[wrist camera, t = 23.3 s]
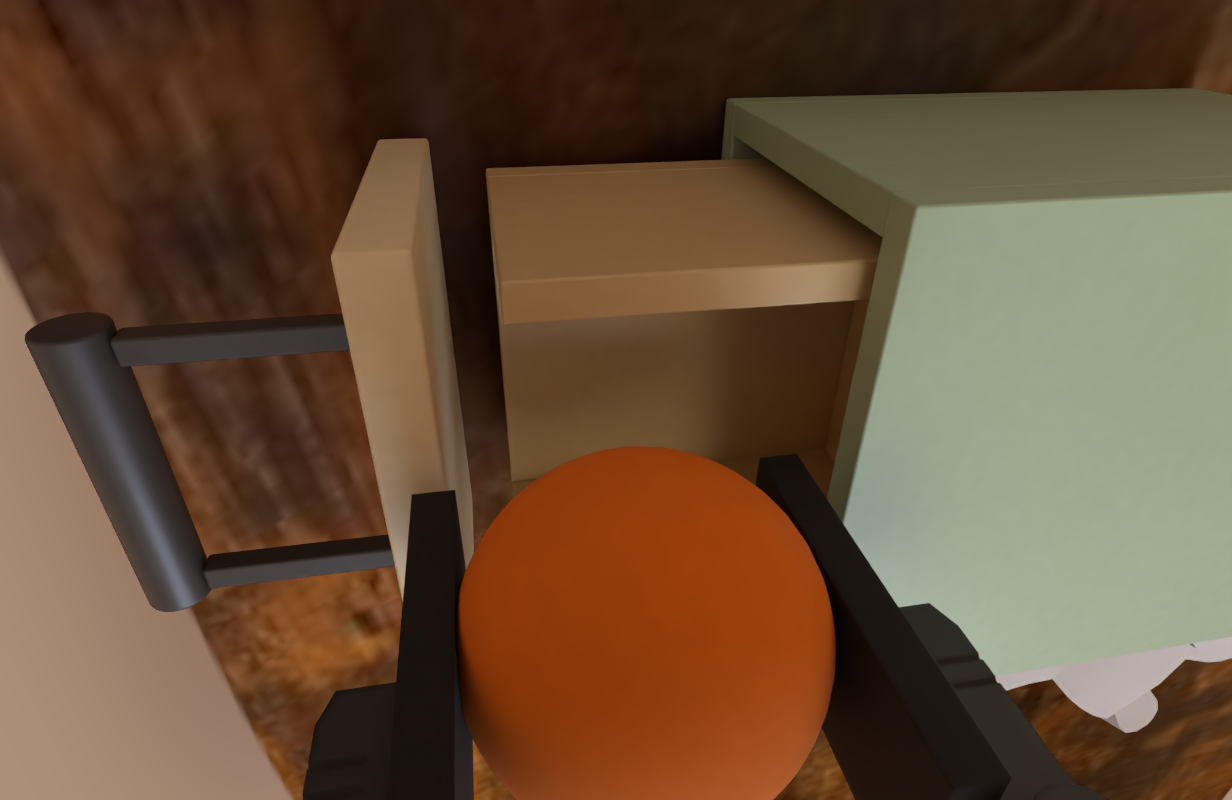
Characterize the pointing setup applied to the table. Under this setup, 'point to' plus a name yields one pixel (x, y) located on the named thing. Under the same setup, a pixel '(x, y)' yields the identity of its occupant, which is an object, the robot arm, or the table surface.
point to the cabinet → (1034, 357)
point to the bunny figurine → (1121, 680)
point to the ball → (644, 635)
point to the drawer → (513, 346)
